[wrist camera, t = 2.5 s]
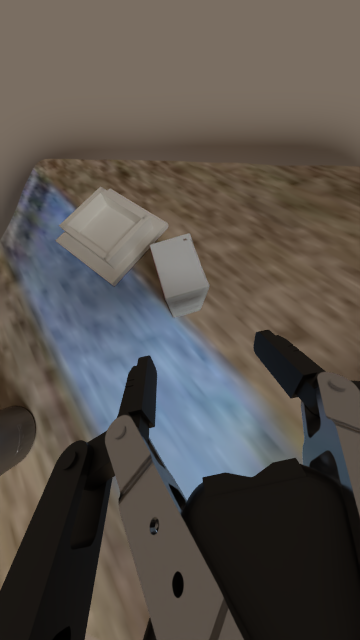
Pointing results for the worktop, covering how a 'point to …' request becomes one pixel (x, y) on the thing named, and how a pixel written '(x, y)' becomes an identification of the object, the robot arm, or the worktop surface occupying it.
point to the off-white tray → (110, 233)
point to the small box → (180, 274)
